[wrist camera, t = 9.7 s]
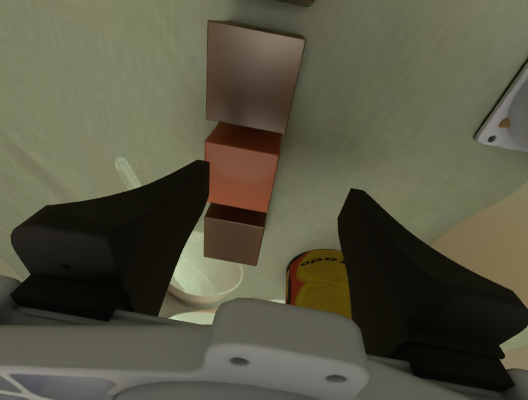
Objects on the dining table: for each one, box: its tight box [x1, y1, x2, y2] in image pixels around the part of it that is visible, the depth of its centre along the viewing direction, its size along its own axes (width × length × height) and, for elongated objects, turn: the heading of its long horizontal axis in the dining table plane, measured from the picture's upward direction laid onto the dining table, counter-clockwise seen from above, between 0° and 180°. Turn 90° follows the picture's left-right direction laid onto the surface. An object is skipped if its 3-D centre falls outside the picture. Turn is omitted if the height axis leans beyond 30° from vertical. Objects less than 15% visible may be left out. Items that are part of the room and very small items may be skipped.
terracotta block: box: [205, 122, 282, 213], centre depth 19 cm, size 5×5×5 cm
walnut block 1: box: [206, 20, 306, 134], centre depth 16 cm, size 5×5×5 cm
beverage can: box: [285, 249, 352, 320], centre depth 25 cm, size 9×9×12 cm
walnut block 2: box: [204, 203, 267, 266], centre depth 23 cm, size 5×5×5 cm
